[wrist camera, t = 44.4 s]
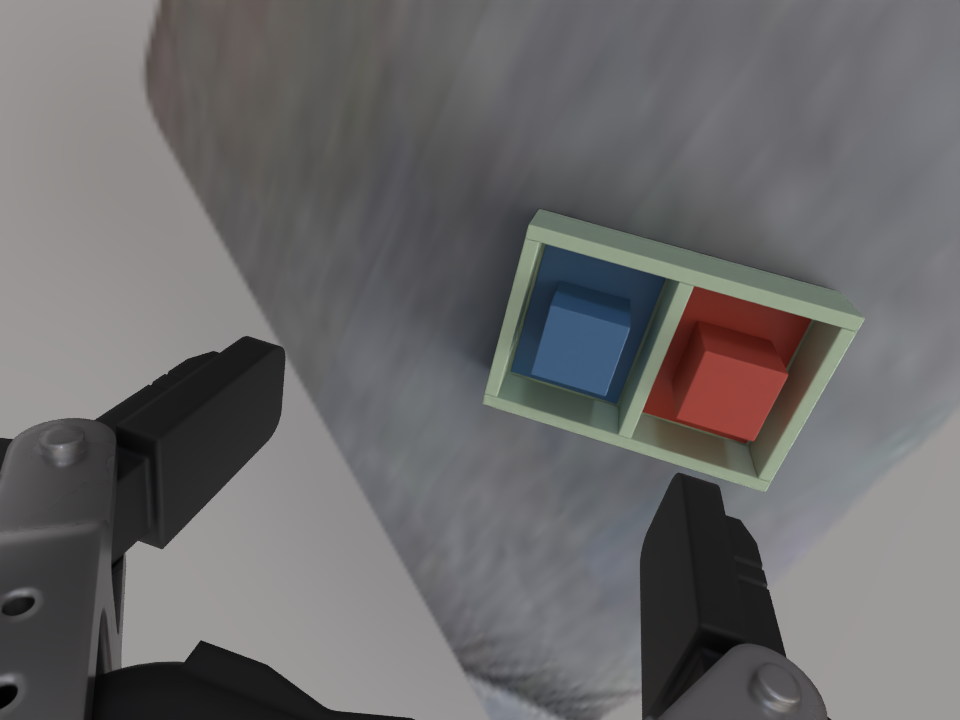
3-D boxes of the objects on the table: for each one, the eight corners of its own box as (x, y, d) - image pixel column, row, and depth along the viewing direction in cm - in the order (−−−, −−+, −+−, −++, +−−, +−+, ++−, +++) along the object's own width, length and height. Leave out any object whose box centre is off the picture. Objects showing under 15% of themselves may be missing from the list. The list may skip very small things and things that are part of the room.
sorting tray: (494, 375, 41) (481, 404, 38) (538, 208, 36) (528, 223, 32) (753, 455, 39) (765, 493, 36) (841, 292, 34) (865, 318, 30)
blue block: (540, 343, 39) (530, 374, 35) (559, 279, 37) (550, 304, 33) (608, 363, 38) (605, 396, 34) (630, 299, 36) (630, 327, 32)
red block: (670, 382, 38) (675, 419, 34) (697, 319, 36) (705, 350, 32) (741, 403, 37) (754, 442, 33) (772, 340, 35) (789, 374, 31)
